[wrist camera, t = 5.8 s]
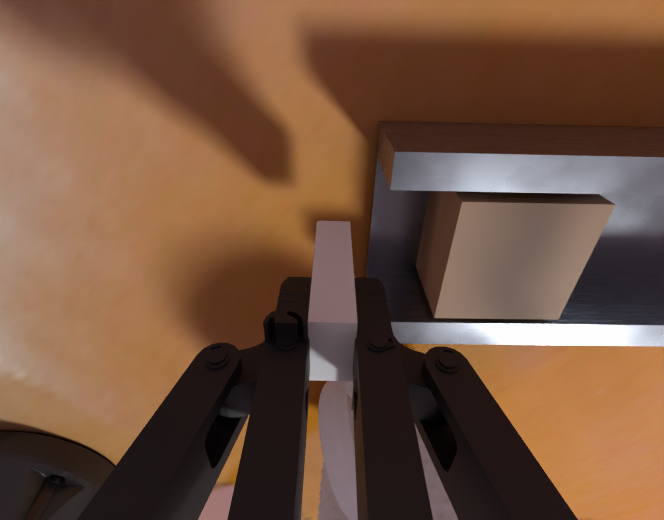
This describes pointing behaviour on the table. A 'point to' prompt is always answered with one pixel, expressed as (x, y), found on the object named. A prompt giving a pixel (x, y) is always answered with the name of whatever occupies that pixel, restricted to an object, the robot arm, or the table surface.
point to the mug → (340, 459)
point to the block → (506, 251)
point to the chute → (526, 177)
